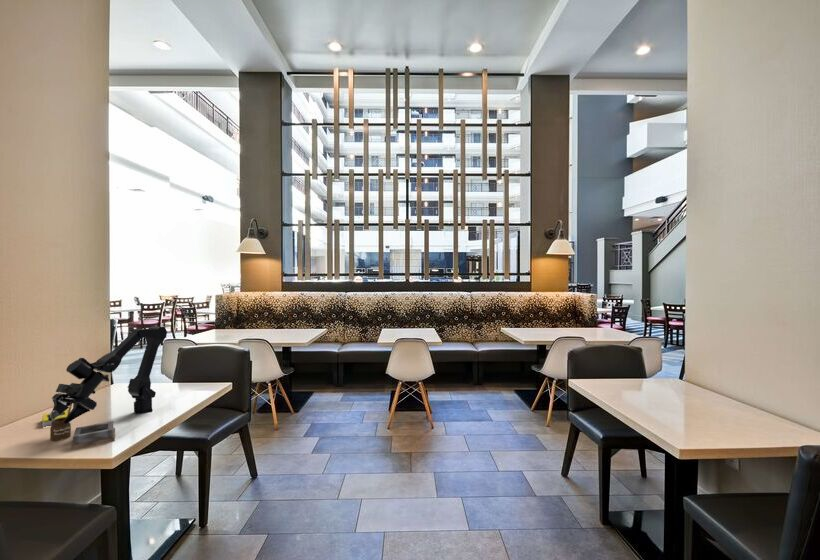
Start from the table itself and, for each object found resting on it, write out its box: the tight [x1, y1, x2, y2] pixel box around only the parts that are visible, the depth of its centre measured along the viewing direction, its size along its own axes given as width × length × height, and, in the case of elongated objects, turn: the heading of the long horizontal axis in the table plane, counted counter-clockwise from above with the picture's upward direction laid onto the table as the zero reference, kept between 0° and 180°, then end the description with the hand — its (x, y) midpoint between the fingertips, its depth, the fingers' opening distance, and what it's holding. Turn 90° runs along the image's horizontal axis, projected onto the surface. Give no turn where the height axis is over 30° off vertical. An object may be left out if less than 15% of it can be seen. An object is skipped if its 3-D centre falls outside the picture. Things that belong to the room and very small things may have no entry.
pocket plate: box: [70, 420, 116, 450], centre depth 150 cm, size 12×12×4 cm
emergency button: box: [41, 409, 73, 428], centre depth 171 cm, size 9×4×15 cm
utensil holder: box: [49, 404, 73, 441], centre depth 152 cm, size 6×6×12 cm
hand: (56, 421), depth 151 cm, fingers open, 9 cm apart
